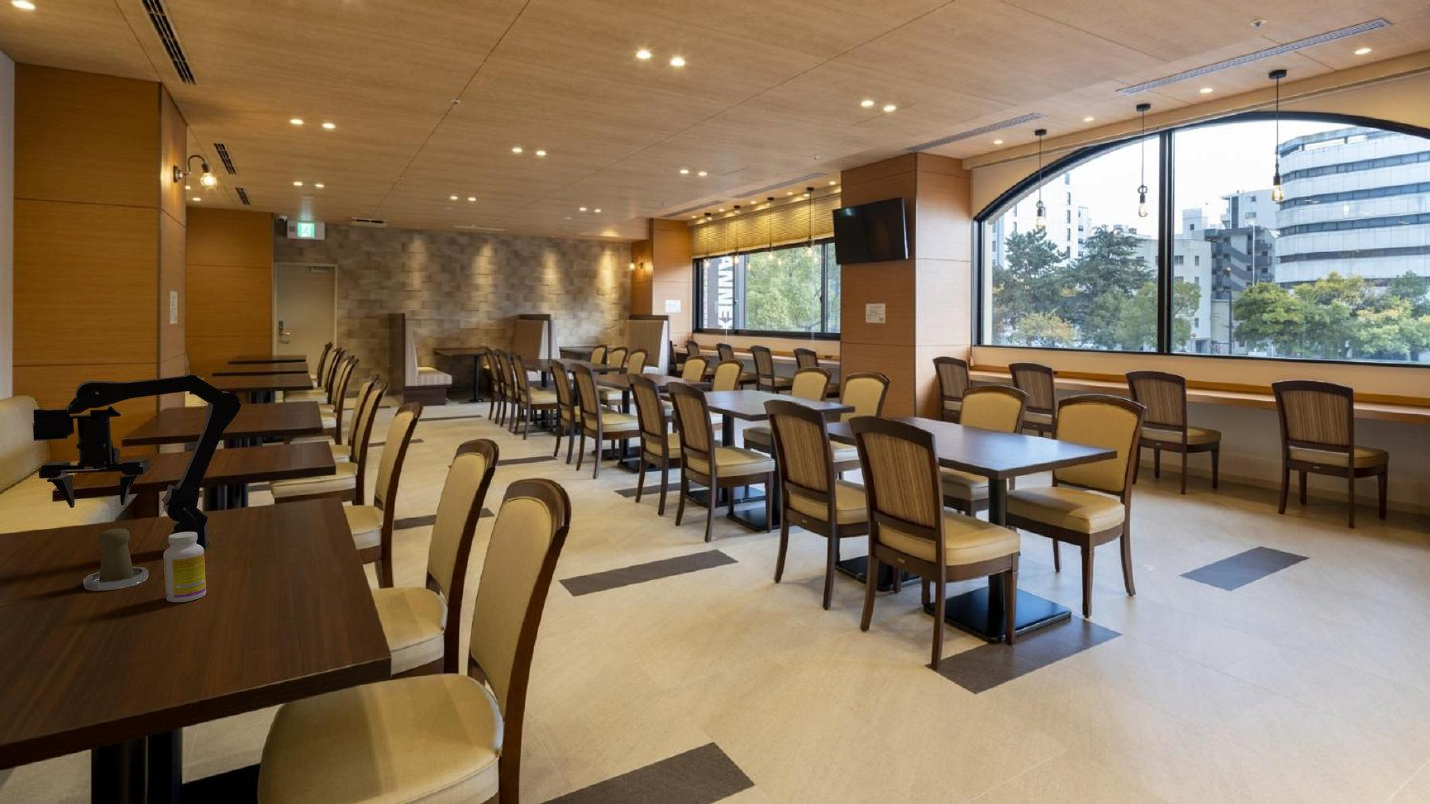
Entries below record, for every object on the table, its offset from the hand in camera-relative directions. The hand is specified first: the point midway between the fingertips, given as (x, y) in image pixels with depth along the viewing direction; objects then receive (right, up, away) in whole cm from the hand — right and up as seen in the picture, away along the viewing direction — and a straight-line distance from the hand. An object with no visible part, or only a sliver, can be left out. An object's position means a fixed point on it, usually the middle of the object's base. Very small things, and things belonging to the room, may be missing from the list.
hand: (98, 506), depth 172 cm
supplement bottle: (+34, -16, -20) cm, 42 cm away
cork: (+13, -14, -11) cm, 23 cm away
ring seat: (+13, -14, -11) cm, 23 cm away
